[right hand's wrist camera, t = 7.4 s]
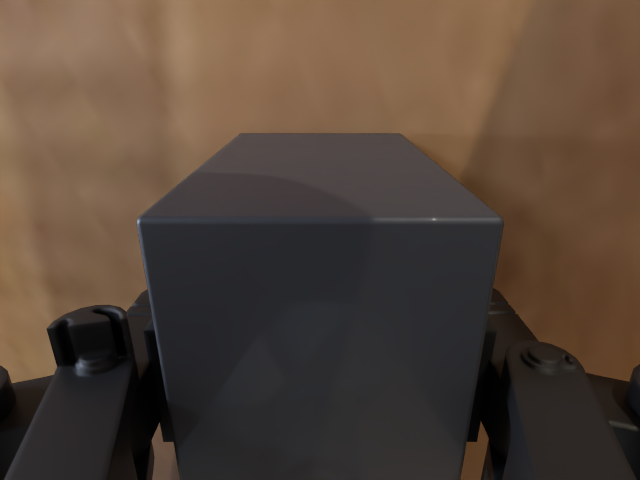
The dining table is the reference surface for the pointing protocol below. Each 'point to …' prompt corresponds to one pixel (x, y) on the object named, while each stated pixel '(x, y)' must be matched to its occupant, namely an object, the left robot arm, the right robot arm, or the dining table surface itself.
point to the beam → (320, 309)
